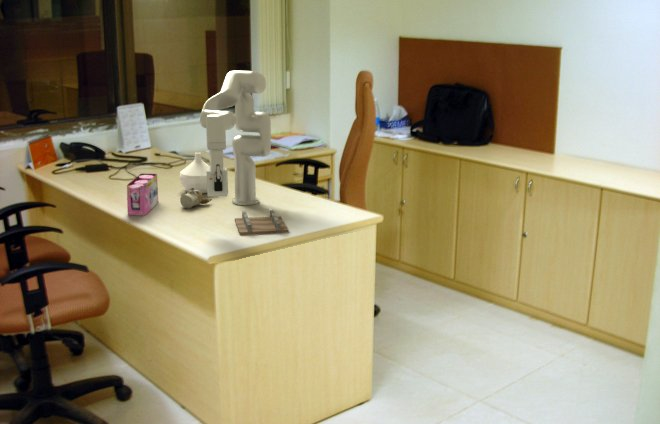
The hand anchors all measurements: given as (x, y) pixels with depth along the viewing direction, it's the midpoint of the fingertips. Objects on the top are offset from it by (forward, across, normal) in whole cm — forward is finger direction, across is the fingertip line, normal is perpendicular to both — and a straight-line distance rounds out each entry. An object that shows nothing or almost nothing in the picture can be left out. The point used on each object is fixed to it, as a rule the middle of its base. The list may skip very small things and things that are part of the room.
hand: (217, 188), depth 315 cm
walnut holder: (+18, -2, +18) cm, 25 cm away
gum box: (+19, -38, -30) cm, 52 cm away
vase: (+19, -64, -4) cm, 67 cm away
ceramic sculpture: (+19, -39, -8) cm, 44 cm away
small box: (+3, 0, 0) cm, 3 cm away
